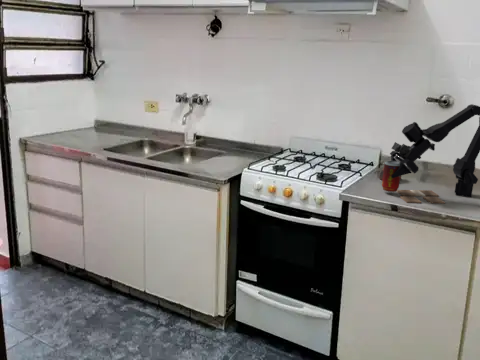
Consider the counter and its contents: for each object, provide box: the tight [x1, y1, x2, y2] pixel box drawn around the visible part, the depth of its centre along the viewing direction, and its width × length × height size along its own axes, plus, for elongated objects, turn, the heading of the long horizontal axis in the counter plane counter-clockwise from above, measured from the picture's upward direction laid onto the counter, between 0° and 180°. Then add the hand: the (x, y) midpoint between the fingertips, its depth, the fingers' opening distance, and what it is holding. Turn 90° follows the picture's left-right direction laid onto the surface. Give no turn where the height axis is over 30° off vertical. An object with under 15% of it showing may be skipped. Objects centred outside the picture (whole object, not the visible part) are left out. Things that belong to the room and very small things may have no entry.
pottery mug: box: [378, 167, 402, 181], centre depth 237 cm, size 12×10×8 cm
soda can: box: [381, 160, 401, 193], centre depth 214 cm, size 7×7×12 cm
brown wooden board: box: [396, 189, 440, 198], centre depth 217 cm, size 16×7×1 cm, turn 95°
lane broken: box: [399, 195, 446, 205], centre depth 208 cm, size 16×7×1 cm, turn 95°
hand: (388, 175), depth 214 cm, fingers closed on soda can, 7 cm apart
